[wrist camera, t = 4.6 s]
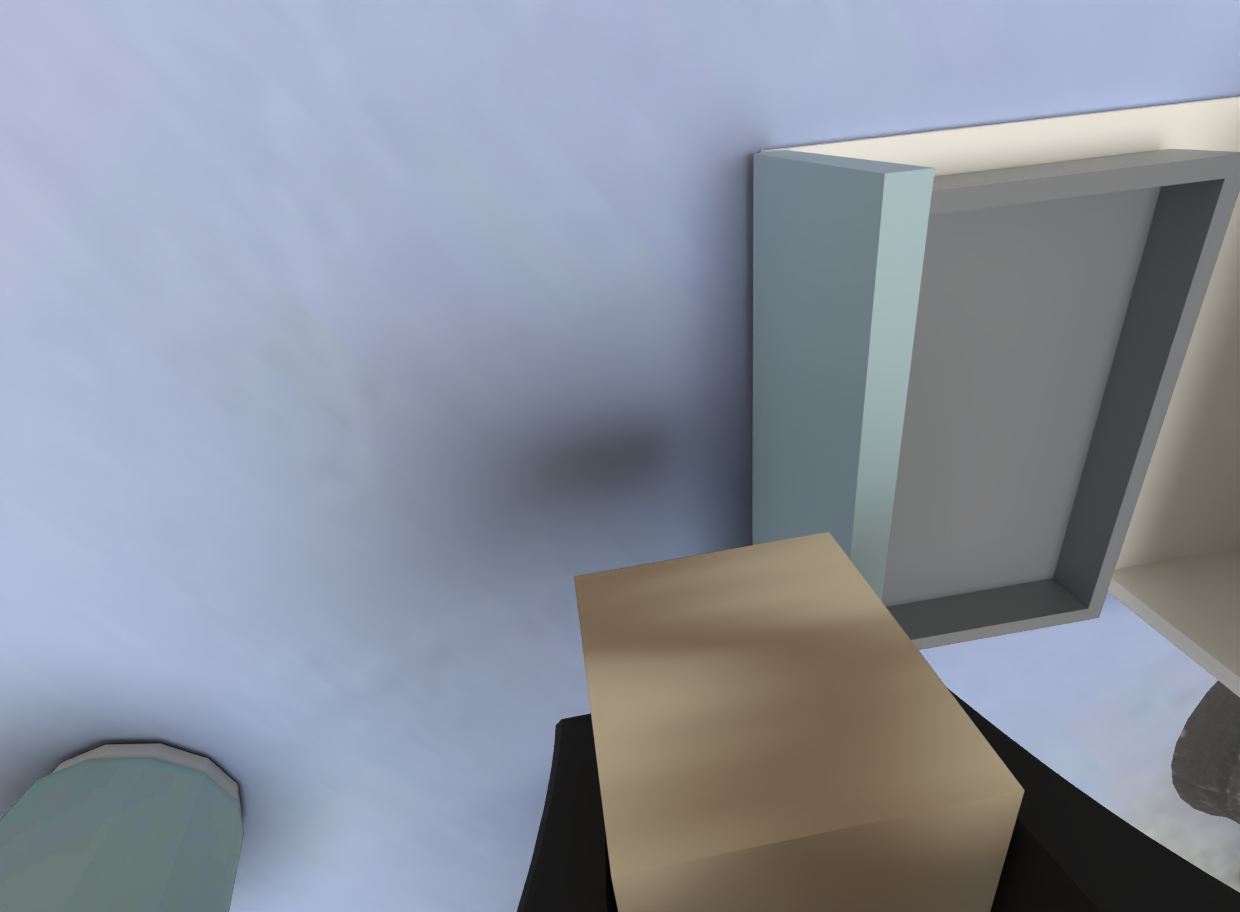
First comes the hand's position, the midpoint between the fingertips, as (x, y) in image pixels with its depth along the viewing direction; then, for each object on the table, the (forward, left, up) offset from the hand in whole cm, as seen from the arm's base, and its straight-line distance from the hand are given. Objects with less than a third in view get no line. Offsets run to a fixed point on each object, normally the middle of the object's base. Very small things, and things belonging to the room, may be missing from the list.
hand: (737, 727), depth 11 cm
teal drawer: (+9, 0, -10) cm, 14 cm away
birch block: (0, 0, -2) cm, 2 cm away
